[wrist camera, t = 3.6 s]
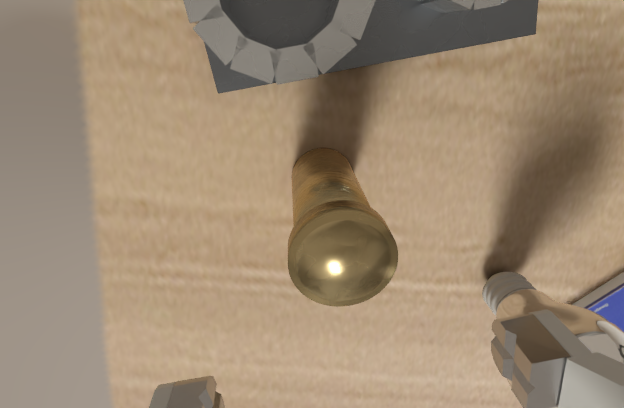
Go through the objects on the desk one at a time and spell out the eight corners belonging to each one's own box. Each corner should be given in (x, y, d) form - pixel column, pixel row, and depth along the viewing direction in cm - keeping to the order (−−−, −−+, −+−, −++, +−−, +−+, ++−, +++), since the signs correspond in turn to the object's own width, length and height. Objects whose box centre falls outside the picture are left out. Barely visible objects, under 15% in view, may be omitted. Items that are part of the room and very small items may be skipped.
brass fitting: (352, 137, 24) (393, 203, 14) (360, 202, 26) (401, 296, 16) (280, 150, 24) (277, 224, 15) (294, 214, 26) (299, 314, 17)
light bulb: (515, 223, 27) (670, 352, 16) (554, 281, 30) (711, 427, 19) (434, 277, 29) (527, 427, 18) (478, 328, 31) (582, 487, 20)
